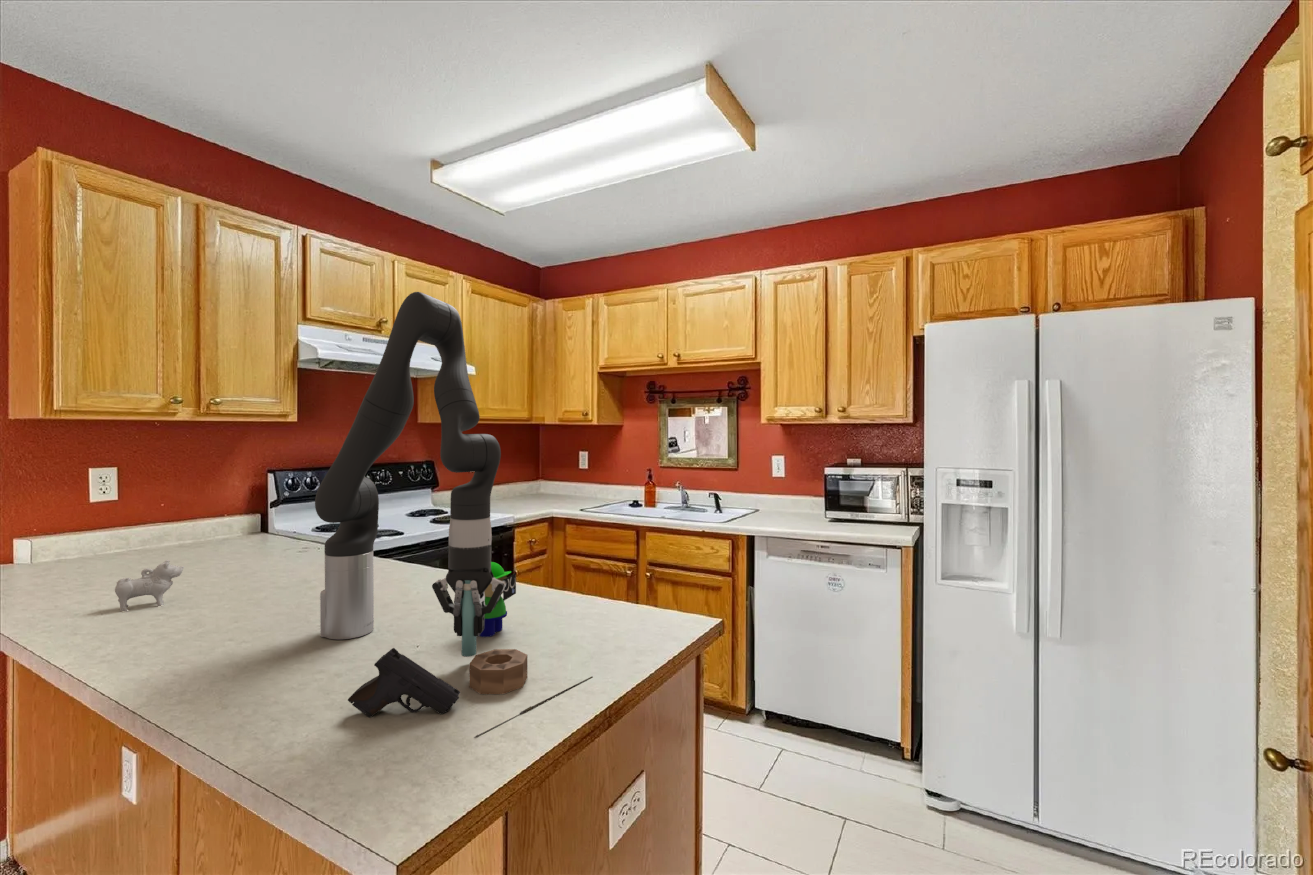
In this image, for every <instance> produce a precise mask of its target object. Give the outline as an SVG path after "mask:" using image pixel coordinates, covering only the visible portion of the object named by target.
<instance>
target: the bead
mask: <svg viewBox="0 0 1313 875" xmlns="http://www.w3.org/2000/svg"><path fill="white" fill-rule="evenodd" d="M468 666H469V674H468V675H469V678H468V679H469V682H468V684H469V688H470V689H472V690H473V691H475V692H476V693H478V694H480V695H505V694H507V693H510V692H513V691H516V690H519V689H521V688H523V687H524V685H525V684H526V682H527V679H528V654H527V653H525V652H523V651H520V650H518V649H515V648H499V649H498V648H494V649H491V650H488V651H485V652H482V653H481V652H480V653H478V654H476V655H474V656H473V658H472V660H471V661H470V662H469V665H468Z"/></svg>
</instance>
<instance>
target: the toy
mask: <svg viewBox="0 0 1313 875" xmlns="http://www.w3.org/2000/svg"><path fill="white" fill-rule="evenodd" d="M491 571H492V573H493V575H494V578H496V579H498V580H500V581H503V580H504V581H506V583H507V585H506V587H505V589H504V591H503V593H502V595H501V596H500V598H499V600H498V602H497V604H496V606H495V608H494V609H493V610H492V612H491V613H487V614H485V617H484V630H483V632H482V633H481V634H480V635H479V636H478V637H481V638H489V637H494V636H495V635H496V633H497V632H501V631H503V619H505V618H506V617H507V615H508V611H507V607H506V604H505V603H506V602H505V601H506V600H507V599H509V598H511V597H513V596H514V595H515V594H516V593H517V573H516V572H515V573H513V574H511V573H512V571H511V570H509V571H505V570H504V568H503V567H502V566H501V565H500V564H499V563H497V562H494V561H491ZM509 574H511V575H509ZM508 575H509V576H508ZM507 576H508V577H507ZM484 593H485V605H488V603H489V601H490V599H491V597H492V595H493V593H494V592H493V591H492V584H491V583H490V585H489V586H488V587H487V589H486V590H485V591H484Z"/></svg>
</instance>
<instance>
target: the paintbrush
mask: <svg viewBox="0 0 1313 875" xmlns="http://www.w3.org/2000/svg"><path fill="white" fill-rule="evenodd" d="M592 678H594V677H593V676H590V677H588V678H586V679H584V680H581V681H579V682H578V683H576V684H574V685H572V686H570V687H568V688H566V689H564V690H562V691H560V692H557V693H556V694H554V695H552V696H549V697H547V698H546V699H543V700H542V701H540V702H538V703H536V704H534V705H532V706H529V707H527V708H525V709H523V710H522V711H520V712H519V714H516V715H515V716H513V717H511V718H509V719H507V720H505V721H502V722H500V723H498V724H497V725H495V726H493V727H491V728H489V729H487V730H484V731H483V732H481V733H479V734H477V735H475V736H474V737H473V738H478V737H480V736H481V735H484V734H485V733H487V732H490V731H491V730H493V729H495V728H497V727H499V726H502V725H503V724H505V723H507V722H508V721H510V720H513V719H514V718H517V717H518V716H522V715H523V714H526V713H527V712H530V711H532V710H534V709H536V708H537V707H539V706H541V705H543V704H545V703H547V702H548V701H547V700H549V701H551V700H552V698H553V699H554V698H556V697H559V696H560V695H562V694H564V693H566V692H568V691H570V690H571V689H573V688H575V687H577V686H580V685H581V684H583V683H585V682H587V681H589V680H590V679H592ZM565 691H566V692H565ZM555 696H556V697H555ZM546 701H547V702H546ZM544 702H545V703H544ZM538 705H539V706H538Z"/></svg>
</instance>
